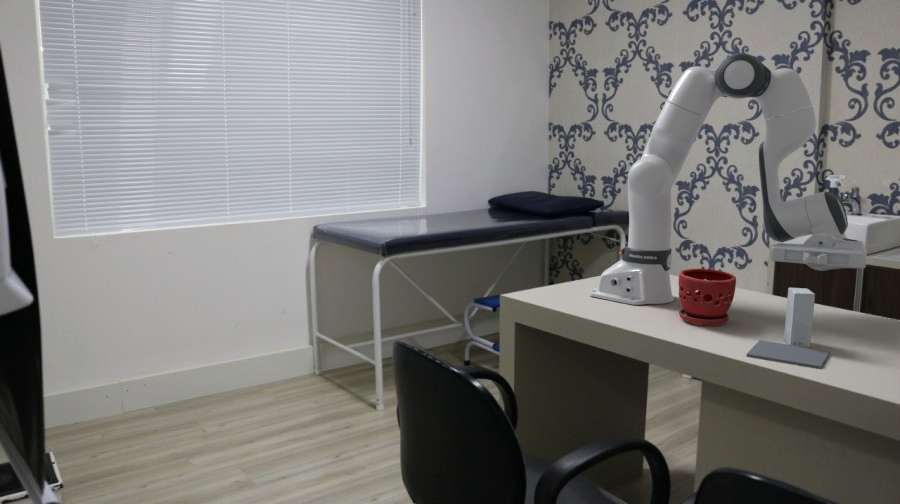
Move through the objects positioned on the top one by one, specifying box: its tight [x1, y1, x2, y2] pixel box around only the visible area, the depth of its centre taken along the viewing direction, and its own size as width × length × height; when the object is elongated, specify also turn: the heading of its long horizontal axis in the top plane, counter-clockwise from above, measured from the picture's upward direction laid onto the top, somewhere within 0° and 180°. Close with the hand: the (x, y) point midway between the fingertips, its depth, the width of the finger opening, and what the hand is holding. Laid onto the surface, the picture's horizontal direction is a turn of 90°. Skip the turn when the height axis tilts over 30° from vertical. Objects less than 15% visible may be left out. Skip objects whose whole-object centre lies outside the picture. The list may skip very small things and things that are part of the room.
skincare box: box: [783, 287, 816, 348], centre depth 162 cm, size 6×4×12 cm
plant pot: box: [678, 268, 737, 327], centre depth 180 cm, size 13×13×12 cm
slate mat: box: [745, 339, 831, 369], centre depth 155 cm, size 14×12×1 cm
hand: (812, 260), depth 167 cm, fingers closed
